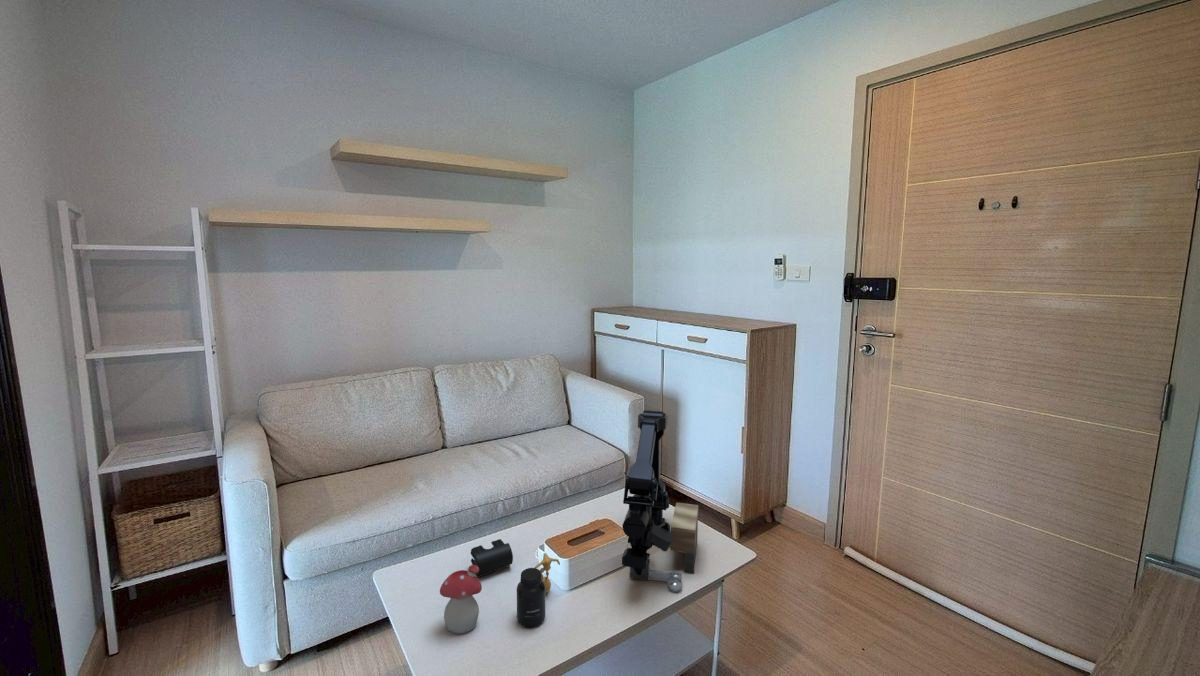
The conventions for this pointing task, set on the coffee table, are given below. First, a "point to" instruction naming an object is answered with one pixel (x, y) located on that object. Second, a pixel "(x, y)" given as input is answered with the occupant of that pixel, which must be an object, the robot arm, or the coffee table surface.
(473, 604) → the decorative ornament
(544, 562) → the figurine
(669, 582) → the grey metal dome
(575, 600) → the coffee table surface
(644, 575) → the blade tool
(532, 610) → the supplement bottle
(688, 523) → the bronze curved block
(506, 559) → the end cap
